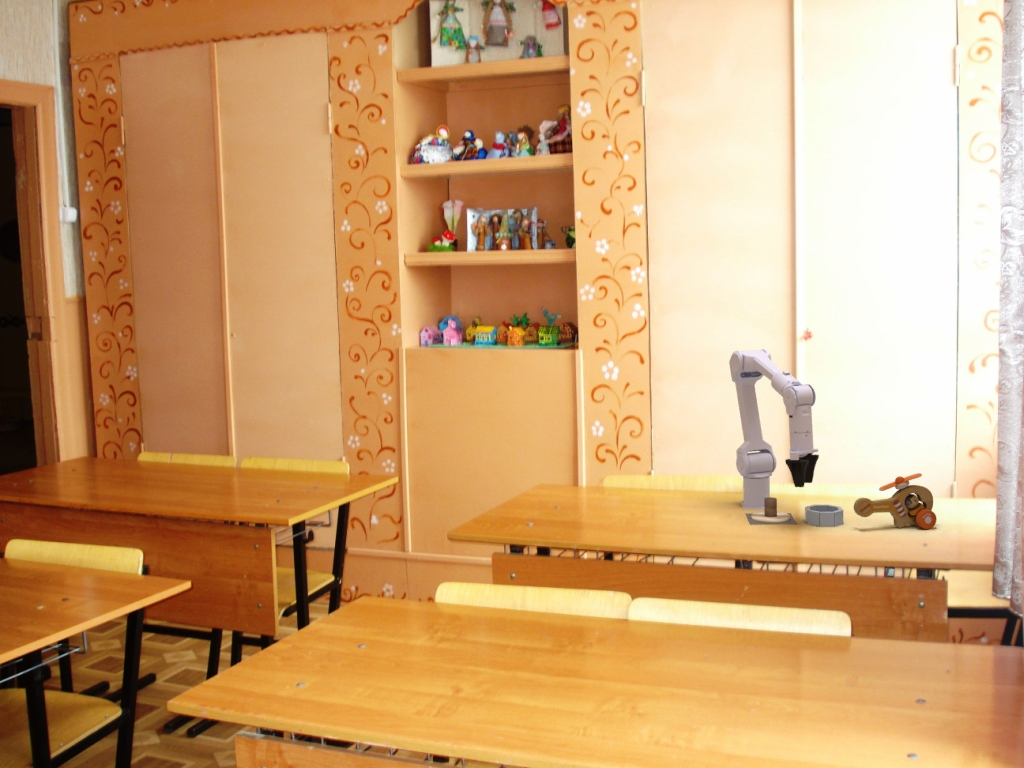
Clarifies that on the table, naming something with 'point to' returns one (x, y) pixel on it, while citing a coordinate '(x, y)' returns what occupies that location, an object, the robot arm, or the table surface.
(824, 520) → the bowl
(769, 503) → the lid
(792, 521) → the mat
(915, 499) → the toy helicopter
